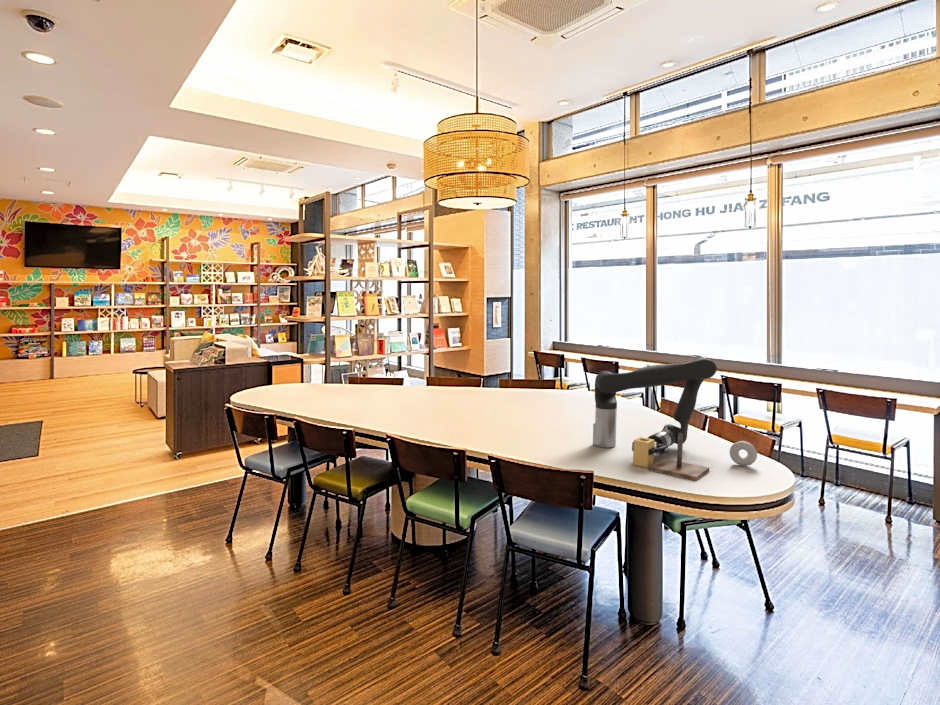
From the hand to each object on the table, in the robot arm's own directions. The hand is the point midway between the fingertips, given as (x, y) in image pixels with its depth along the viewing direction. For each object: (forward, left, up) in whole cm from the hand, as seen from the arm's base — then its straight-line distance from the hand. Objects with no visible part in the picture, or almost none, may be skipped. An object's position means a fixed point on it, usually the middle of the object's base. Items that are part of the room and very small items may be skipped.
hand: (641, 450), depth 221 cm
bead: (0, +2, -6) cm, 6 cm away
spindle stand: (+13, +4, -6) cm, 16 cm away
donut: (+30, +27, -6) cm, 41 cm away
